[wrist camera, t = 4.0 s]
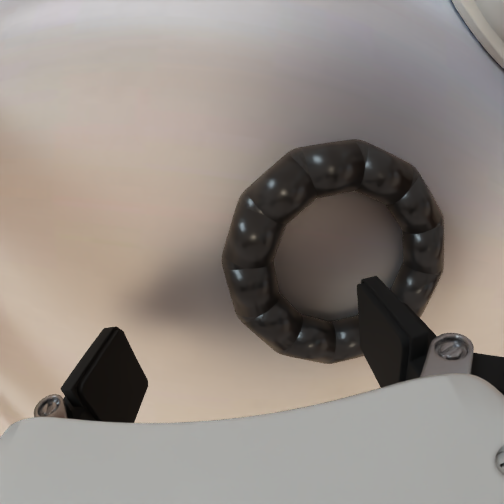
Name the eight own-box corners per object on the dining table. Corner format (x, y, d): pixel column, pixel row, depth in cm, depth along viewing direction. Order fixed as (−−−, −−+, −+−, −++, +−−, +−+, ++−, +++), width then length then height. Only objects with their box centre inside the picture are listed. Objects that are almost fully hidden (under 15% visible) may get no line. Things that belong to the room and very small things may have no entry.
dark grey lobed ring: (419, 132, 13) (443, 131, 11) (426, 318, 17) (443, 337, 14) (202, 168, 14) (192, 171, 12) (254, 361, 18) (253, 387, 15)
